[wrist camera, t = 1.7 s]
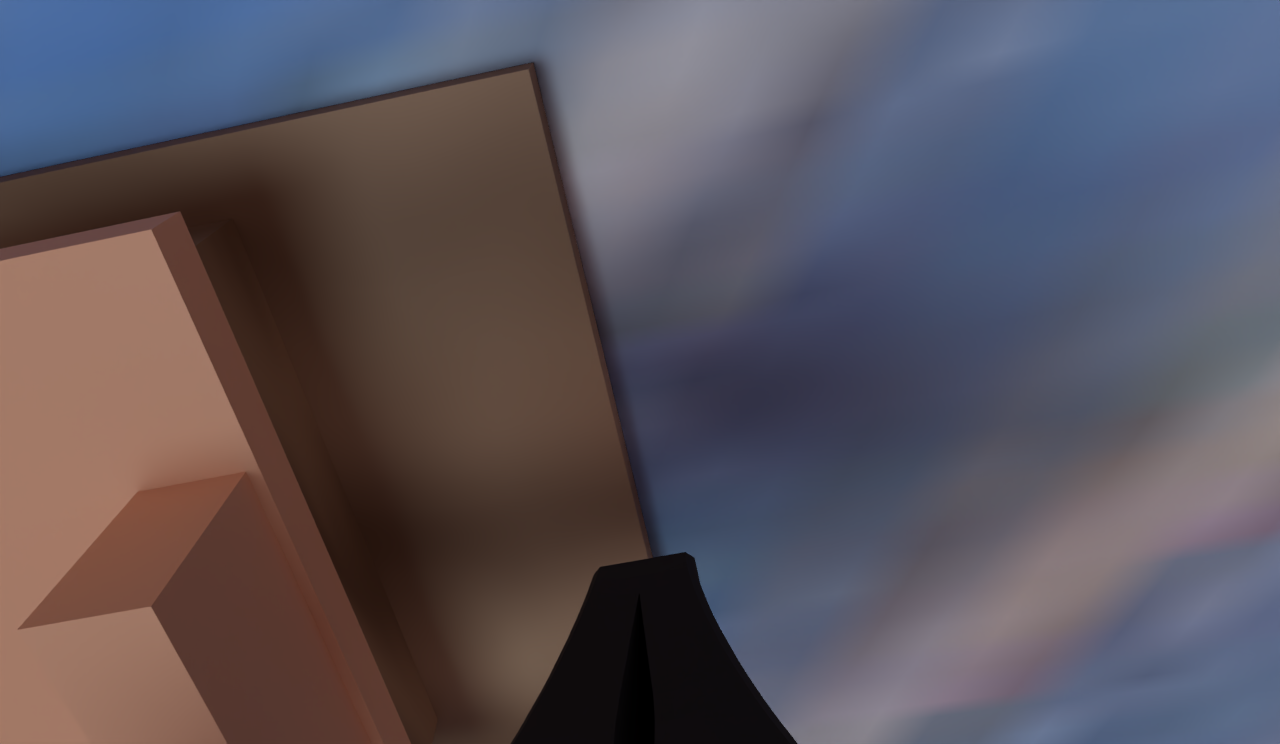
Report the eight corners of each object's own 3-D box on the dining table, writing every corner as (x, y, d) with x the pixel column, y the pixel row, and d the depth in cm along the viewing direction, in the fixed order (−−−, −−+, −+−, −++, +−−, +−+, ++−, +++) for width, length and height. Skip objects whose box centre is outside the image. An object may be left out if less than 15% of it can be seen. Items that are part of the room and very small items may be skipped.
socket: (686, 697, 21) (696, 826, 18) (-124, 826, 22) (-240, 965, 19) (533, 62, 15) (510, 95, 12) (-567, 298, 16) (-836, 382, 13)
